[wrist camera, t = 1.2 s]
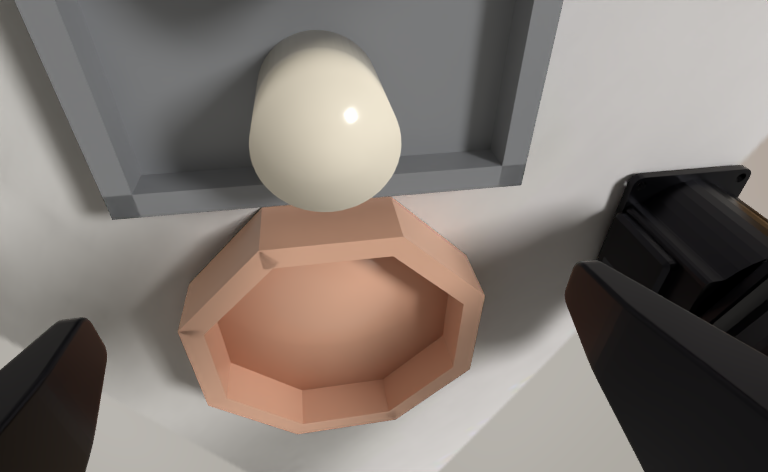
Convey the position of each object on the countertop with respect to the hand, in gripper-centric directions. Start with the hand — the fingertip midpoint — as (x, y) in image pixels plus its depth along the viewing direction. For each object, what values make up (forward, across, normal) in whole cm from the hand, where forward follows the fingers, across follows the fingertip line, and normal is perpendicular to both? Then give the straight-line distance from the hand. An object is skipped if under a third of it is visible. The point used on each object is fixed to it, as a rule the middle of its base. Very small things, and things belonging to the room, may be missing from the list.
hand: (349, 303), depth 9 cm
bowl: (+11, 0, +12) cm, 17 cm away
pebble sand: (+11, 0, 0) cm, 11 cm away
